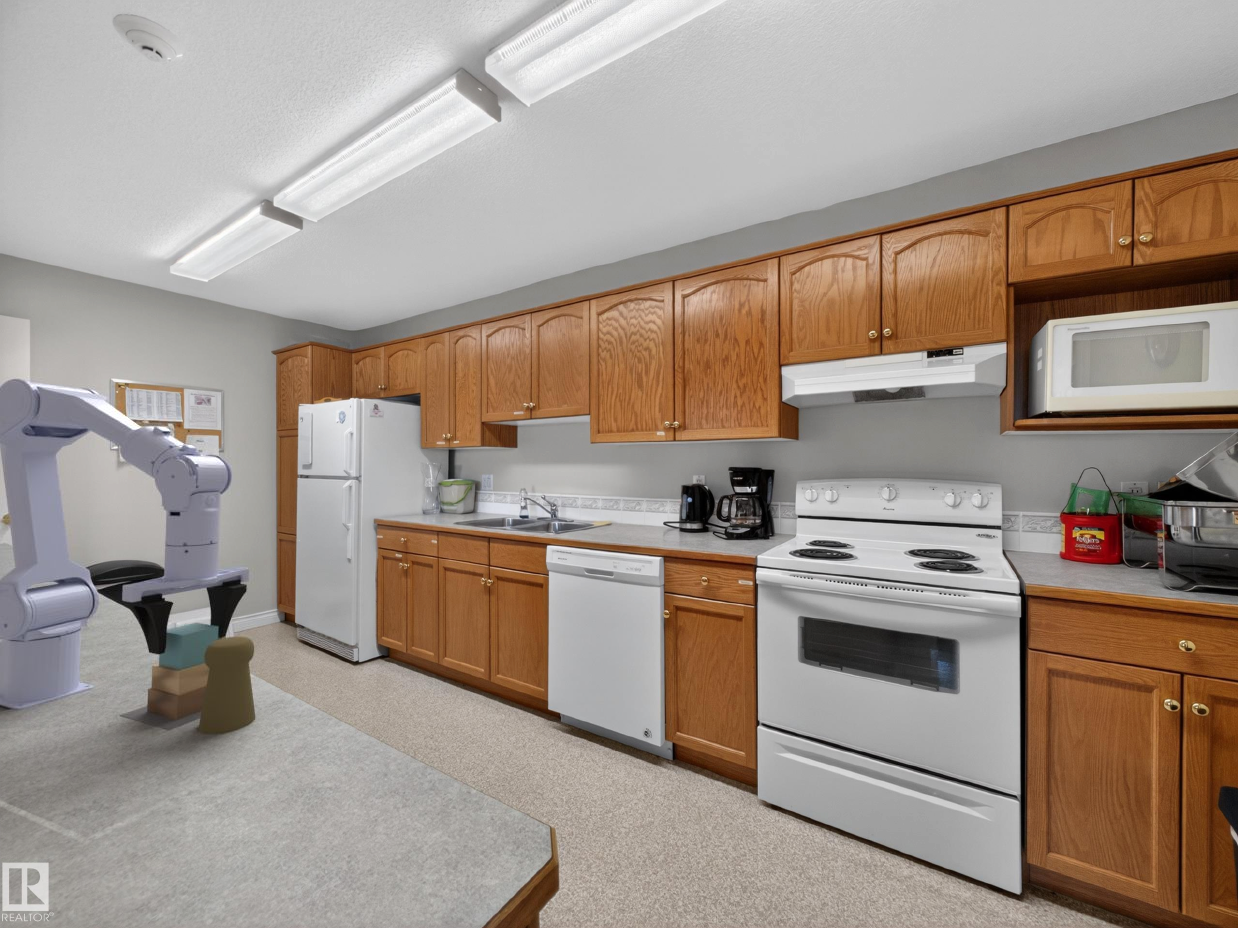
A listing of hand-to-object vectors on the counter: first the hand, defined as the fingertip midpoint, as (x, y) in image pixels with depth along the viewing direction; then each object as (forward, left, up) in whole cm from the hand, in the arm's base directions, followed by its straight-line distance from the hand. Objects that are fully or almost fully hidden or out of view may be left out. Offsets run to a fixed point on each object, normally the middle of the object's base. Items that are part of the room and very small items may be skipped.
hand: (189, 644), depth 73 cm
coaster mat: (0, 0, -9) cm, 9 cm away
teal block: (0, 0, -2) cm, 2 cm away
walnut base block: (0, 0, -8) cm, 8 cm away
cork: (+10, -1, -9) cm, 13 cm away
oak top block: (0, 0, -5) cm, 5 cm away
